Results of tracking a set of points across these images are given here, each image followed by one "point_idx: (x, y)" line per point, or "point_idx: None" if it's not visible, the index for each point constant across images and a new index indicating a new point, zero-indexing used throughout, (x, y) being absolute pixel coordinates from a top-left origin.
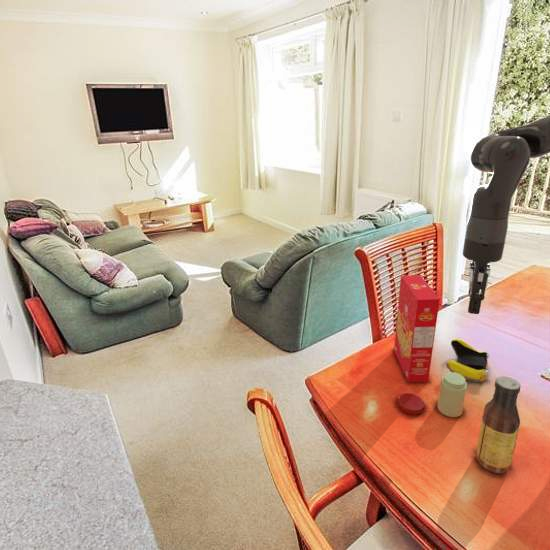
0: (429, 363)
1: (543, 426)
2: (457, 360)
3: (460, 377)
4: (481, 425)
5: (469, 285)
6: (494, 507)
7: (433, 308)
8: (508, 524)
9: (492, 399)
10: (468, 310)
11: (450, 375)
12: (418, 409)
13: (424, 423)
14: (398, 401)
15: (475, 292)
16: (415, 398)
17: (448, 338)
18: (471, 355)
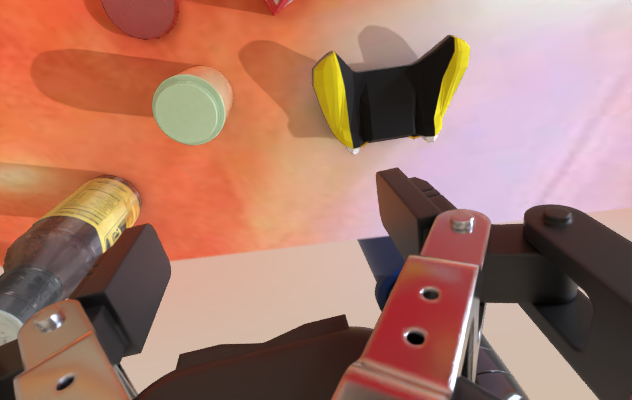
0: (273, 8)
1: (271, 246)
2: (389, 69)
3: (201, 127)
4: (53, 210)
5: (24, 371)
6: (18, 219)
7: None
8: (6, 240)
9: (24, 261)
10: (122, 234)
11: (190, 100)
12: (123, 30)
13: (110, 56)
14: None
15: (390, 219)
16: (160, 8)
17: (516, 10)
18: (421, 99)
